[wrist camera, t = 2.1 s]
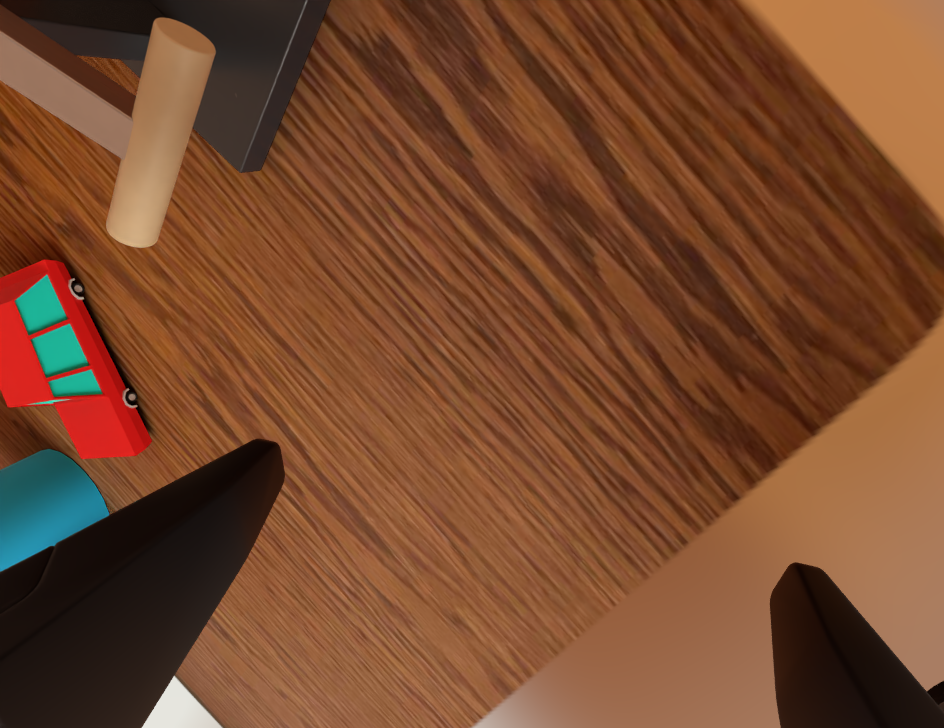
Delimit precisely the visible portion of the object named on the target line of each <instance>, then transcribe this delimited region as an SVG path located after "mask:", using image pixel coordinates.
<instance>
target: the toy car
mask: <svg viewBox="0 0 944 728" xmlns="http://www.w3.org/2000/svg"><path fill="white" fill-rule="evenodd" d="M74 280H75V279H74V278H73V279H71V277H70V275H69V273H68V271H67V269H66V267H65V265H64V263H62V262H59V261H55V260H42V261H40V262H37V263H35V264H33V265H30V266H28V267H25V268H23V269H21V270H18V271H16V272H13V273H11V274H9V275H6V276H4V277H1V278H0V390H1V392H2V394H3V397H4V399H5V402H6V404H7V406H8V407H26V406H50V405H55V407H56V409H57V411H58V413H59V415H60V417H61V419H62V421H63V423H64V425H65V427H66V429H67V431H68V433H69V435H70V437H71V439H72V441H73V443H74V445H75V447H76V449H77V451H78V453H79V455H80V457H81V459H89V458H106V457H124V456H136V455H138V454H139V453H140V452H142V451H143V450H145V449H146V448H147V447H148V446H149V444H150V443H151V442H152V440H151V438H150V436H149V434H148V432H147V430H146V428H145V426H144V424H143V422H142V420H141V418H140V416H139V414H138V412H137V410H136V408H135V407H138V406H137V405H132V406H131V405H129V404H128V403H134V402H136V400H137V395H136V394H135V393H134V392H131V391H130V392H128V393H126V392H127V391H129V388H126V387H125V385H124V383H123V381H122V379H121V377H120V375H119V373H118V371H117V369H116V367H115V365H114V363H113V361H112V359H111V357H110V355H109V353H108V351H107V349H106V347H105V345H104V343H103V341H102V339H101V337H100V335H99V333H98V331H97V329H96V327H95V325H94V323H93V321H92V319H91V317H90V315H89V313H88V311H87V309H86V307H85V305H84V303H83V301H82V300H83V299H84V297H79V296H77V295H82V294H83V293H84V287H83V286H82V285H81V284H79V283H73V284H72V285H71V283H72V281H74ZM127 402H128V403H127Z"/></svg>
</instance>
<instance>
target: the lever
mask: <svg viewBox="0 0 944 728" xmlns="http://www.w3.org/2000/svg"><path fill="white" fill-rule="evenodd" d="M215 54H216V50H215V47H214V45H213V44H212V42H211V41H210V40H209V39H208V38H206V37H205V36H204V35H203V34H201V33H200V32H198V31H197V30H195V29H193V28H192V27H190V26H188V25H186V24H184V23H181V22H179V21H176V20H173V19H169V18H157V19H156V20H155V21H154V22H153V27H152V31H151V35H150V39H149V44H148V48H147V52H146V56H145V61H144V65H143V69H142V73H141V78H140V82H139V86H138V90H137V95H136V96H135V95H133V94H132V93H130V92H129V91H127V90H126V89H124V88H123V87H122V86H120V85H119V84H117V83H116V82H114V81H113V80H111V79H110V78H108V77H107V76H105V75H104V74H102V73H101V72H99V71H98V70H96V69H95V68H93V67H92V66H90V65H89V64H87V63H86V62H85V61H83V60H82V59H80V58H79V57H77V56H76V55H74V54H73V53H71V52H70V51H68V50H67V49H65V48H64V47H62V46H61V45H59V44H58V43H56V42H55V41H53V40H52V39H50V38H49V37H48V36H46V35H45V34H43V33H42V32H40V31H39V30H37V29H36V28H34V27H33V26H31V25H30V24H28V23H27V22H25V21H24V20H22V19H21V18H19V17H18V16H16V15H15V14H13V13H12V12H11V11H9V10H8V9H6V8H5V7H3V6H2V5H0V80H1V81H2V82H4V83H5V84H7V85H8V86H10V87H11V88H13V89H15V90H16V91H18V92H19V93H21V94H22V95H24V96H25V97H27V98H28V99H30V100H32V101H33V102H35V103H36V104H38V105H39V106H41V107H42V108H44V109H45V110H47V111H49V112H50V113H52V114H53V115H55V116H56V117H58V118H59V119H61V120H62V121H64V122H66V123H67V124H69V125H70V126H72V127H73V128H75V129H76V130H78V131H80V132H81V133H83V134H84V135H86V136H87V137H89V138H90V139H92V140H93V141H95V142H97V143H98V144H100V145H101V146H103V147H104V148H106V149H107V150H109V151H110V152H112V153H114V154H115V155H117V156H118V157H120V158H121V162H120V167H119V171H118V175H117V179H116V184H115V188H114V192H113V196H112V201H111V205H110V209H109V213H108V218H107V222H106V228H107V231H108V233H109V234H110V235H111V236H112V237H113V238H114V239H116V240H117V241H119V242H121V243H123V244H125V245H128V246H132V247H139V248H143V247H149V246H152V245H154V244H155V243H156V242H157V240H158V237H159V234H160V231H161V228H162V224H163V221H164V218H165V215H166V212H167V208H168V205H169V202H170V199H171V195H172V192H173V189H174V186H175V183H176V179H177V176H178V173H179V170H180V166H181V163H182V160H183V157H184V154H185V150H186V147H187V144H188V141H189V138H190V134H191V131H192V128H193V125H194V121H195V118H196V115H197V112H198V109H199V105H200V102H201V99H202V96H203V92H204V89H205V86H206V83H207V80H208V76H209V73H210V70H211V67H212V63H213V60H214V57H215Z"/></svg>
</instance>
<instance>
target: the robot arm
mask: <svg viewBox="0 0 944 728" xmlns="http://www.w3.org/2000/svg"><path fill="white" fill-rule="evenodd" d="M284 478H285V471H284V466H283V460H282V454H281V449H280V446H279V445H278V443H276V442H273V441H269V440H264V439H255V440H252V441H250V442H248V443H246V444H245V445H243V446H241V447H239V448H237V449H235V450H233V451H231V452H229V453H227V454H225V455H224V456H222V457H220V458H218V459H216V460H214V461H212V462H210V463H208V464H206V465H204V466H202V467H201V468H199V469H197V470H195V471H193V472H191V473H189V474H187V475H185V476H183V477H181V478H180V479H178V480H176V481H174V482H172V483H170V484H168V485H166V486H164V487H162V488H160V489H159V490H157V491H155V492H153V493H151V494H149V495H147V496H145V497H143V498H141V499H139V500H138V501H136V502H134V503H132V504H130V505H128V506H126V507H124V508H122V509H120V510H118V511H117V512H115V513H113V514H111V515H109V516H107V517H105V518H103V519H101V520H99V521H97V522H96V523H94V524H92V525H90V526H88V527H86V528H84V529H82V530H80V531H78V532H76V533H74V534H73V535H71V536H69V537H67V538H65V539H63V540H61V541H59V542H57V543H56V545H55V547H54V546H49V547H47V548H46V549H44V550H42V551H40V552H38V553H36V554H34V555H32V556H30V557H28V558H26V559H24V560H22V561H20V562H18V563H17V564H15V565H13V566H11V567H9V568H7V569H5V570H3V571H1V572H0V728H142V726H143V725H144V723H145V721H146V720H147V718H148V716H149V715H150V713H151V712H152V710H153V709H154V707H155V705H156V703H157V702H158V701H159V699H160V697H161V696H162V694H163V693H164V691H165V689H166V688H167V686H168V684H169V683H170V681H171V680H172V678H173V676H174V675H175V673H176V672H177V670H178V668H179V667H180V665H181V664H182V662H183V660H184V659H185V657H186V656H187V654H188V652H189V651H190V649H191V648H192V646H193V644H194V643H195V641H196V640H197V638H198V636H199V635H200V633H201V632H202V630H203V628H204V627H205V625H206V624H207V622H208V620H209V619H210V617H211V616H212V614H213V612H214V611H215V609H216V607H217V606H218V604H219V603H220V601H221V599H222V598H223V596H224V595H225V593H226V591H227V590H228V588H229V587H230V585H231V583H232V582H233V580H234V579H235V577H236V575H237V574H238V572H239V571H240V569H241V567H242V566H243V564H244V562H245V560H246V559H247V557H248V555H249V553H250V551H251V549H252V547H253V545H254V543H255V541H256V539H257V537H258V535H259V533H260V531H261V529H262V527H263V525H264V523H265V521H266V519H267V517H268V515H269V512H270V510H271V508H272V506H273V504H274V502H275V500H276V498H277V496H278V494H279V492H280V490H281V488H282V485H283V483H284ZM770 611H771V612H770V614H771V629H772V645H773V659H774V675H775V689H776V699H777V706H778V714H779V719H780V725H781V728H944V712H943V710H942V709H941V708H940V707H939V706H938V705H937V703H936V702H935V701H934V700H933V699H932V697H931V696H930V695H929V694H928V693H927V692H926V690H925V689H924V688H923V687H922V686H921V685H920V683H919V682H918V681H917V680H916V679H915V678H914V676H913V675H912V674H911V673H910V672H909V670H908V669H907V668H906V667H905V666H904V665H903V663H902V662H901V661H900V660H899V659H898V657H897V656H896V655H895V654H894V653H893V652H892V651H891V650H890V648H889V647H888V646H887V645H886V643H885V642H884V641H883V640H882V639H881V637H880V636H879V635H878V634H877V633H876V632H875V630H874V629H873V628H872V627H871V626H870V625H869V623H868V622H867V621H866V620H865V619H864V618H863V616H862V615H861V614H860V613H859V612H858V610H857V609H856V608H855V607H854V606H853V605H852V603H851V602H850V601H849V600H848V599H847V598H846V596H845V595H844V594H843V593H842V592H841V590H840V589H839V588H838V587H837V586H836V585H835V583H834V582H833V581H832V580H831V579H830V577H829V576H828V575H827V574H826V573H825V572H824V571H823V570H822V569H820V568H818V567H814V566H809V565H806V564H801V563H792V564H790V565H789V566H788V568H787V569H786V571H785V572H784V574H783V576H782V577H781V579H780V580H779V582H778V583H777V585H776V586H775V588H774V589H773V591H772V594H771V598H770Z"/></svg>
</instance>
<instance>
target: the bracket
mask: <svg viewBox="0 0 944 728" xmlns="http://www.w3.org/2000/svg"><path fill="white" fill-rule="evenodd" d="M330 1H331V0H0V5H2V6H3V7H5V8H6V9H8V10H9V11H11V12H12V13H13V14H15V15H16V16H18V17H19V18H21V19H22V20H24V21H25V22H27V23H28V24H30V25H31V26H33V27H34V28H36V29H37V30H39V31H40V32H42V33H43V34H45V35H46V36H48V37H49V38H50V39H52V40H53V41H55V42H56V43H58V44H59V45H61V46H62V47H64V48H65V49H67V50H68V51H70V52H71V53H73V54H74V55H80V56H90V57H101V58H111V59H120V60H121V61H123V62H124V63H125V64H126V65H127V66H128V67H129V68H130V69H131V70H132V71H133V72H134V73H135V74H136V75H137V76H138V77H139V78H141V73H142V69H143V65H144V61H145V56H146V52H147V48H148V44H149V39H150V35H151V31H152V27H153V22H154V21H155V20H156V19H157V18H169V19H173V20H176V21H179V22H181V23H184V24H186V25H188V26H190V27H192V28H193V29H195V30H197V31H198V32H200V33H201V34H203V35H204V36H205V37H206V38H208V39H209V40H210V41H211V42H212V44H213V45H214V47H215V50H216V54H215V57H214V60H213V63H212V67H211V70H210V73H209V76H208V80H207V83H206V86H205V89H204V92H203V96H202V99H201V102H200V105H199V109H198V112H197V115H196V118H195V121H194V125H193V129H194V130H195V131H196V132H197V133H198V134H200V135H201V136H202V137H203V138H204V139H205V140H206V141H207V142H208V143H209V144H210V145H211V146H212V147H213V148H214V149H215V150H216V151H217V152H218V153H220V154H221V155H222V156H223V157H224V158H225V159H226V160H227V161H228V162H229V163H230V164H231V165H232V166H233V167H234V168H235V169H236V170H237V171H239V172H240V173H244V172H253V171H260V170H261V169H262V166H263V164H264V161H265V159H266V156H267V154H268V152H269V149H270V147H271V144H272V142H273V139H274V137H275V135H276V132H277V130H278V127H279V125H280V122H281V120H282V118H283V115H284V113H285V110H286V108H287V105H288V103H289V101H290V98H291V96H292V93H293V91H294V88H295V86H296V84H297V81H298V79H299V76H300V74H301V71H302V69H303V66H304V64H305V62H306V59H307V57H308V54H309V52H310V49H311V47H312V45H313V42H314V40H315V37H316V35H317V32H318V30H319V28H320V25H321V23H322V20H323V18H324V15H325V13H326V11H327V8H328V6H329V3H330Z"/></svg>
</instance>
